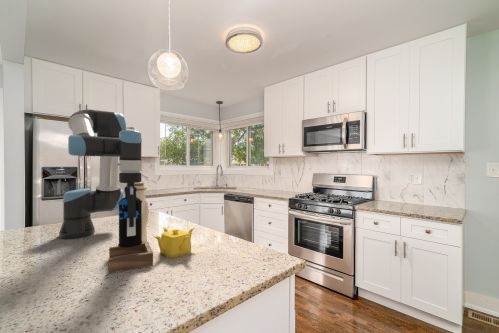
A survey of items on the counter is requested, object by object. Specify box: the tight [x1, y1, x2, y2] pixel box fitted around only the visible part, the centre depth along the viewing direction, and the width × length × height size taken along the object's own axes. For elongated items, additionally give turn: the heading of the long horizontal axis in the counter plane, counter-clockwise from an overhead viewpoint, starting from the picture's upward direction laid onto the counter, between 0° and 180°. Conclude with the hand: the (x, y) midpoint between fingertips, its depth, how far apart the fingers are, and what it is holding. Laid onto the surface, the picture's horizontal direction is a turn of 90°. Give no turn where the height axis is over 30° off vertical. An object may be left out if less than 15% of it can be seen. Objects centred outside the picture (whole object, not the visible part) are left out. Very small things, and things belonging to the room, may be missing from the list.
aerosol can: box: [117, 196, 142, 247], centre depth 91 cm, size 8×8×20 cm
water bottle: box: [134, 182, 150, 243], centre depth 112 cm, size 10×9×28 cm
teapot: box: [153, 227, 196, 259], centre depth 101 cm, size 15×14×10 cm
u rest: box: [108, 241, 154, 274], centre depth 91 cm, size 14×14×4 cm
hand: (130, 232), depth 91 cm, fingers closed on aerosol can, 8 cm apart
